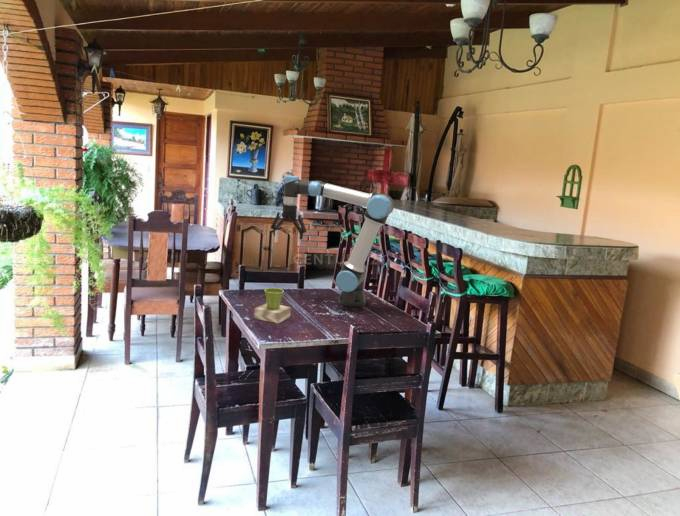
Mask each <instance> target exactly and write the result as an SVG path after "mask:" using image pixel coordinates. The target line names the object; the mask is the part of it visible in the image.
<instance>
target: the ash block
mask: <svg viewBox="0 0 680 516" xmlns="http://www.w3.org/2000/svg"><path fill="white" fill-rule="evenodd" d="M291 309H292V307H291V306H287V305H282V304H280V307H279V309H269V308H268V307H267V303H266V302H265V303H264V304H261V305H259V306H257V307H255V308H254V312H253V313H254V314H253V319H255V320H259V321H265V322H268V323H273V322H274V324H280V323H282V322H283V321H285V320H288V319H289V318H291V312H292V311H291Z"/></svg>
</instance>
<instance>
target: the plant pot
mask: <svg viewBox="0 0 680 516" xmlns="http://www.w3.org/2000/svg"><path fill="white" fill-rule="evenodd" d="M284 292H285V291H284V289H282V288H276V287H275V288H274V287H270V288H269V287H268V288H265V289H264V293H265V294H264V295H265V299H266V301H265V304H266V303H267V307H268V308H269V309H279V307H280V305H281V302H282V297H283V295H284Z"/></svg>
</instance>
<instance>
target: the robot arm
mask: <svg viewBox="0 0 680 516" xmlns="http://www.w3.org/2000/svg"><path fill="white" fill-rule="evenodd" d="M283 184H284V188H283V202H282V203H283V205H282V212H281V211H278V212H277V213H276V216H275V218H274V220H273V222H272V224H271V226H270V229H272V230H273V236H274V243H278V242H279V231H280V230H279V229H280V227H281V226H282V225H283V224H284V223H292V224H293V225H294V227H295V228H296V229H297V231H298V234H297V244H296V245H297V246H301V245H302V244H301V243H302V240H303V238H304V234H305V233H307V228H306V227H305V223H304V220H303V215H302V214H297V211H298V197H299V195H303V196H309V197H310V196H311V197H319V196H320V197H324V198H327V199H328V198H329V199H332V200H337V201H339V202H343V203H348V204H352V205H356V206H359V207H364V208H366V210H365V212H364V215H363V217H364V222H363V224H362V227H361V230H360V231H359V234H358V236H357V239H356V241H355V243H354V245H353V248H352V251H351V253H350V255H349V257H348V260H347V261H344V263H343V264H342V266H341V269H340V271H339V272H338V274H337V275H336V278H335V284H336V286H337V287H338V289H339V290H341V292H340V295H339V296H338V301H337V302H338V304H339V305H343V306H346V307H352V308H353V307H355V308H357V307H358V308H359V307H361V308H362V307H364V306H366V297H365V292H364V287H365V280H366V278H365V277H366V270H367V269H366V264H365V263H366V261H367V259H368V256H369V254H370V251H371V250H372V247H373V245H374V243H375V240H376V237H377V236H378V233H379V231H380V228H381V227H382V226H385V225H386V222H387V220H388V217H389V215H390V214H391V213H392V212H393V210H394V209H395V202H394V200H393V198H392V196H390V195H389V194H385V193H376V192H371V193H368V192H363V191H360V190H356V189H351V188H347V187H345V186H344V187H343V186H341V185H336V184H332V183H328V182H324V181H321V180H301V179H300V176H298V175H290V174H289V175H288V174H287V175H286V176H285V177H284V182H283ZM281 217H282V218H281ZM280 218H281V220H280ZM297 219H298V220H297ZM279 220H280V221H279ZM298 222H299V223H298Z"/></svg>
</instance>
